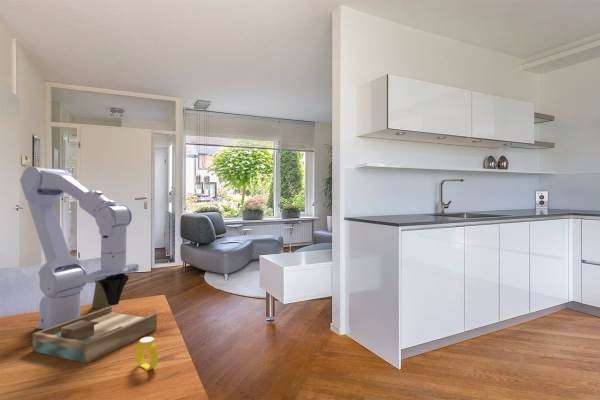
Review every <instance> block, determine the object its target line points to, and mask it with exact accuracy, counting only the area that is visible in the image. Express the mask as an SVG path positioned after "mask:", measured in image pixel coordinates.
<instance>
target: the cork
mask: <svg viewBox="0 0 600 400" xmlns="http://www.w3.org/2000/svg"><path fill="white" fill-rule="evenodd" d="M93 283H95V285H94V293H93V298H92V299H93V300H92V305H91V309H93V308H95V309H94V310H101V309H100V308H106V307H110V306H112V305H108V301H107V298H106V295H105V292H104V290H103V288H102V286H101V285H100V283H99V282H98V281H94V282H93ZM112 307H113V306H112Z"/></svg>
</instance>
